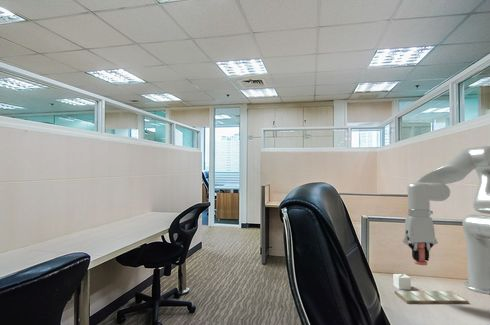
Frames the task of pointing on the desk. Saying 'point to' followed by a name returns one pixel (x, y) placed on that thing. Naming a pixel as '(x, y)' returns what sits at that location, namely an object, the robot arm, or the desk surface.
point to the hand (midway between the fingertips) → (420, 259)
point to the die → (402, 281)
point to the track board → (431, 297)
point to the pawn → (421, 254)
